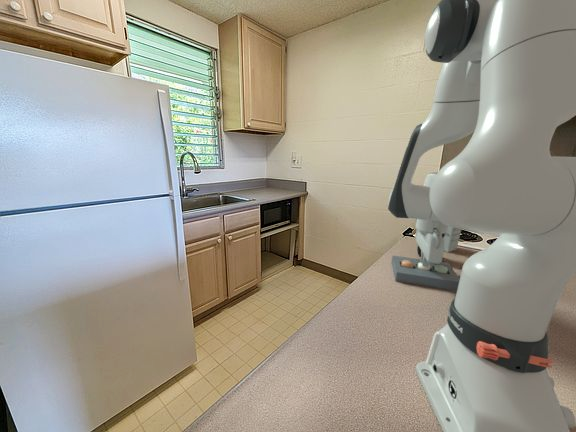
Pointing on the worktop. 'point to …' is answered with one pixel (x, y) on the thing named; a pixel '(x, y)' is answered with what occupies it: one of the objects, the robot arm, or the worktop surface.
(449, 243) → the supplement box
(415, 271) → the panel
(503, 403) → the robot arm
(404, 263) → the terracotta button
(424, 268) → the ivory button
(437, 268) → the sage button
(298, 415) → the worktop surface
